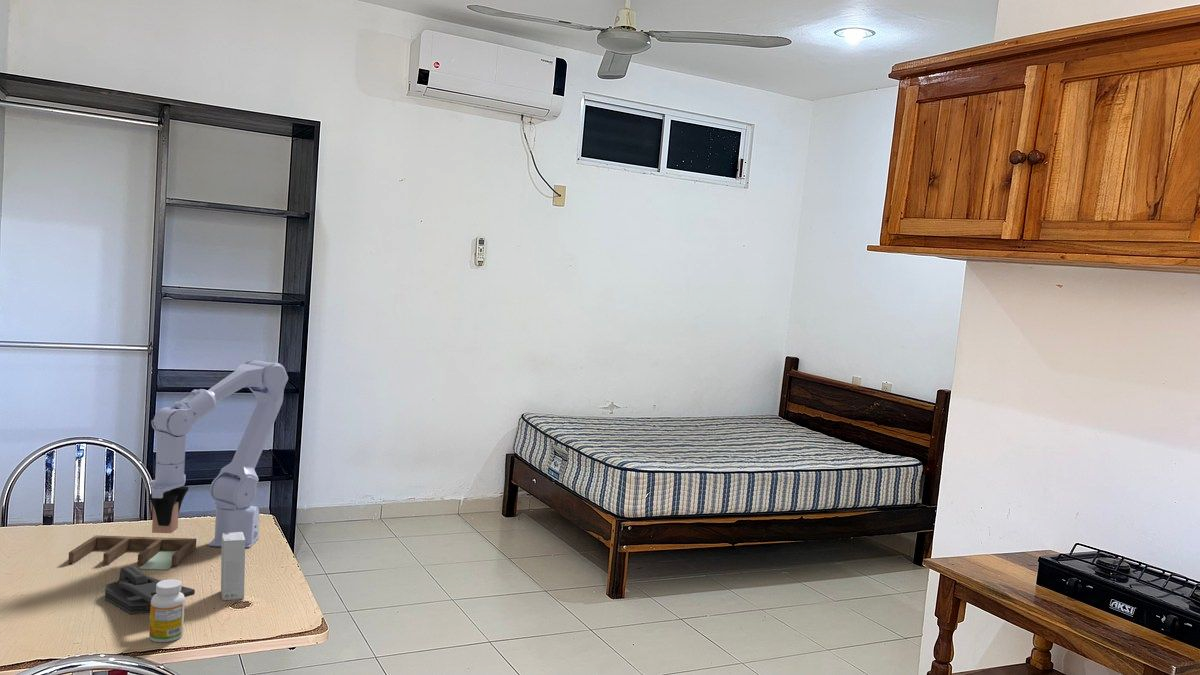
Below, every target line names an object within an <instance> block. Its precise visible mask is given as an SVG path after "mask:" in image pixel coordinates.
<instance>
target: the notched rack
mask: <svg viewBox="0 0 1200 675" xmlns="http://www.w3.org/2000/svg"><path fill="white" fill-rule="evenodd" d="M96 549H105V552H103V556H102V557H103V558H102V565H103V566H109V565H110V564H112V563H113V562H114V561H115V560H117V559H118V558H120V557H121V556H123V555H124V554H125V553H126V552H128V551H129V550H135V551H136V550H138V551H139V550H142V551H141V552H139V553H138V554H137V566H138V567H139V568H138V570H151V571H152V570H156V571H157V570H158V571H160V570H161V571H168V570H170V568H177V567H178V566H179V565H180V564H181V563H182V562H184V561H185V560H186V559H187V558H188V557H189V556H191V555H192V554H193V553H194V552H195V551H196V550H197V538H190V537H189V538H188V537H187V538H186V537H158V536H157V537H155V536H153V537H151V536H128V535H127V536H124V535H100V534H99V535H98V534H97V535H96V534H95V535H93V536H92V537H91V538H89V539H87V540H86V541H85V542H82V543H81V544H79V545H78V546H76V547H75V548H73V549H72V550H70V551H69V552H68V563H74V564H76V563H77V562H79V561H80V560H81V558H82V559H83V558H85V557H86V556H88V555H89V554H91V553H92V552H94V551H96ZM106 549H108V550H107V551H106ZM87 554H88V555H87ZM84 556H85V557H84ZM78 560H79V561H78ZM76 561H77V562H76ZM75 562H76V563H75Z"/></svg>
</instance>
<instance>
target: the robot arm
mask: <svg viewBox="0 0 1200 675" xmlns="http://www.w3.org/2000/svg"><path fill="white" fill-rule="evenodd" d="M288 381H289V376H288V373H287V371H286V368H285V366H284V365H283V364H281V363H279V362H269V361H268V362H267V361H263V360H259V359H254V358H253V359H252V358H251V359H249V360H246V361H245V362H244V363H241V364H239V365H238V367H237V369H236V370H234V371H233V372H231V373H230V374H228V375H227V376H226V377H224V378H223V379H221V380H220V381H218V382H217V383H215V384H214V385H213V386H211V387H210V388H209V389H208V390H207V389H203V388H200V389H199V388H198V389H193V390H192V391H191V392H190V394H189V395H188V396H186V397H183V399H181V400H179V401H175V402H174V403H173V405H172V406H171V407H169V406H165V407H162V408H160V409H159V410H157V412H156V413H155V415H153V416H154V417H153V419H151V422H150V424H151V427H152V429H153V430H154V431H155V438H156V451H155V453H156V454H155V479H152V480H150V481H149V485H150V486H153V488H152V489H151V490H152V491H151V493H149V495H148V499H149V501H150V502H151V504H152V507H153V506H154V509H155V512H156V517H157V521H158V525H159V526H169V524H170V521H171V517H172V511H173V507H174V504H175V502H179V508H178V515H179V514H180V512H181V507H182V503H183V500H184V498H185V497H186V495H187V492H188V491H189V486H185V484H186V481H187V480H186V477H187V476H186V474H185V463H186V462H185V460H186V438H187V434H188V433H189V432H190V431H191V429H192V427H193V425H194V424H195V423H196V422H198V421H199V420H200V419H202V418H204V417H206V416H207V415H209V414H210V413H212V412H213V411H215V410H216V409H217V408H216V407H217V403H218V402H220V401H222V400H224V399H226V398H227V397H230V395H232V394H234V393H236V392H239V391H240V390H241V389H243V388H246V387H248V389H249V390H250V391H251V392H252V394H253V395H254V397H255V399H256V404H255V407H254V408H253V411H252V413H251V416H250V417H249V421H248V423H247V426H246V428H245V430H244V432H243V434H242V437H241V439H240V441H239V444H238V447H237V448H236V451H235V453H234V456H233V457H232V460H231V462H230V463H228V464H226V465H225V466H223V467H222V468H221V469H220V471H219V474H218V475H217V476H216V477H215V478H214V479H213V480H212V482H211V484H210V486H209V494H210V496H211V498H212V499H213V500H214V504H215V520H214V521H215V522H214V524H215V526H214V539H212V540H211V541H210V542H209V543H208V547H222V534H223V533H233V532H243V534H244V537H245V548H251V547H252V546H253V545H254V543H256V542H257V541H258V539H260V536H259V530H260V528H259V527H260V526H259V525H260V509H259V507H258V506H256V505H255V506H253V505H251V504H253V502H254V500H255V498H256V496H257V487H258V483H259V480H260V479H259V476H258V475H257V471H256V470H255V469H256V466H257V464H258V462H259V460H260V457H261V455H262V453H263V450H264V447H265V445H266V443H267V440H268V438H269V436H270V433H271V432H272V429H273V426H274V424H275V422H276V419H277V416H278V414H279V412H280V410H281V407H282V405H283V402H284V394H285V393H284V391H285V388H286V384H287V382H288Z"/></svg>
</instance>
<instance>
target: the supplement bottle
mask: <svg viewBox="0 0 1200 675" xmlns="http://www.w3.org/2000/svg"><path fill="white" fill-rule="evenodd" d="M181 586H182V581H180V580H179V579H172V578H171V579H170V578H169V579H164V580H160V582H158V583H157V584H156V593H157V594H155V595H154V596H153V597H152V599H151V608H150V613H149V630H148V631H149V635H148V636H149V639H150V641H153V642H156V643H169V642H173V641H177V640H178V639H180V638H182V636H183V635H184V622H185V602H186V600H185V599H186V597H184V595H183V593H181V592H180V591H181Z"/></svg>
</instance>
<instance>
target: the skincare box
mask: <svg viewBox="0 0 1200 675" xmlns="http://www.w3.org/2000/svg"><path fill="white" fill-rule="evenodd" d="M220 550H221V553H220V555H221V557H220V558H221V563H220V564H221V565H220V566H221V567H220V592H221V593H220V595H221V600H222V601H235V600H236V601H237V600H244V598H245V577H246V576H245V573H246V569H245V568H246V566H245V565H246V547H245V537H244V534H243V532H233V533H223V534H222V546H221V548H220Z"/></svg>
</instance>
